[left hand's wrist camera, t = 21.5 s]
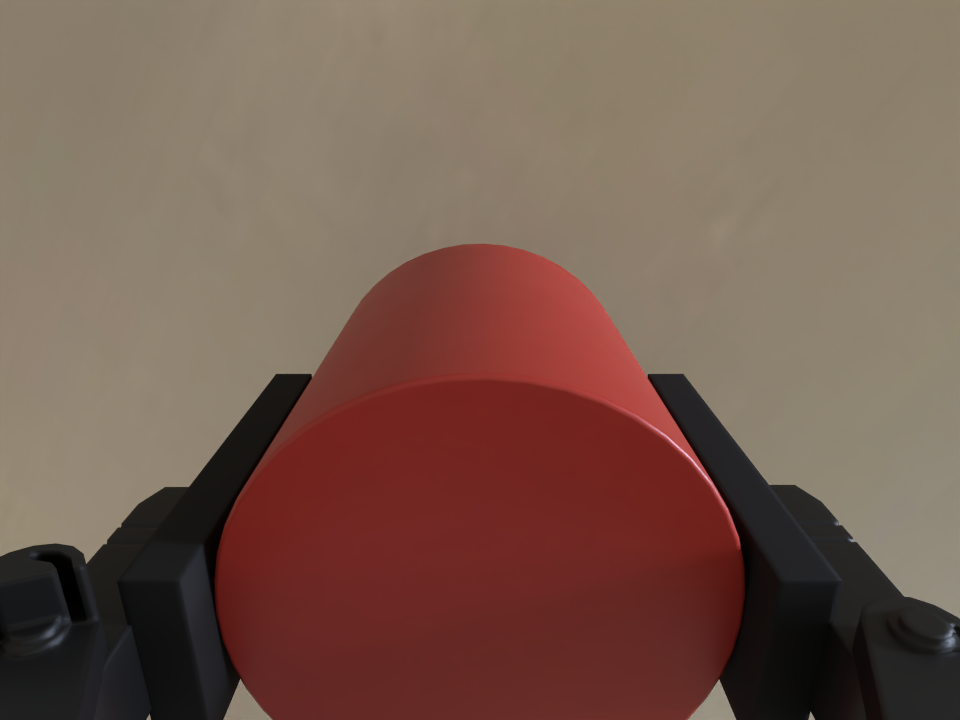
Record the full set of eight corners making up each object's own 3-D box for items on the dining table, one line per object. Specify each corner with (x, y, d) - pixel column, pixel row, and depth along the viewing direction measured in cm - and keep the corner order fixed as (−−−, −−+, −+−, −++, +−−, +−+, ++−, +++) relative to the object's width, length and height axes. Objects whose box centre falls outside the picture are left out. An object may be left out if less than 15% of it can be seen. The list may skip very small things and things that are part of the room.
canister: (677, 316, 16) (857, 504, 8) (545, 543, 18) (592, 850, 10) (398, 191, 14) (313, 276, 7) (297, 450, 17) (153, 718, 9)
